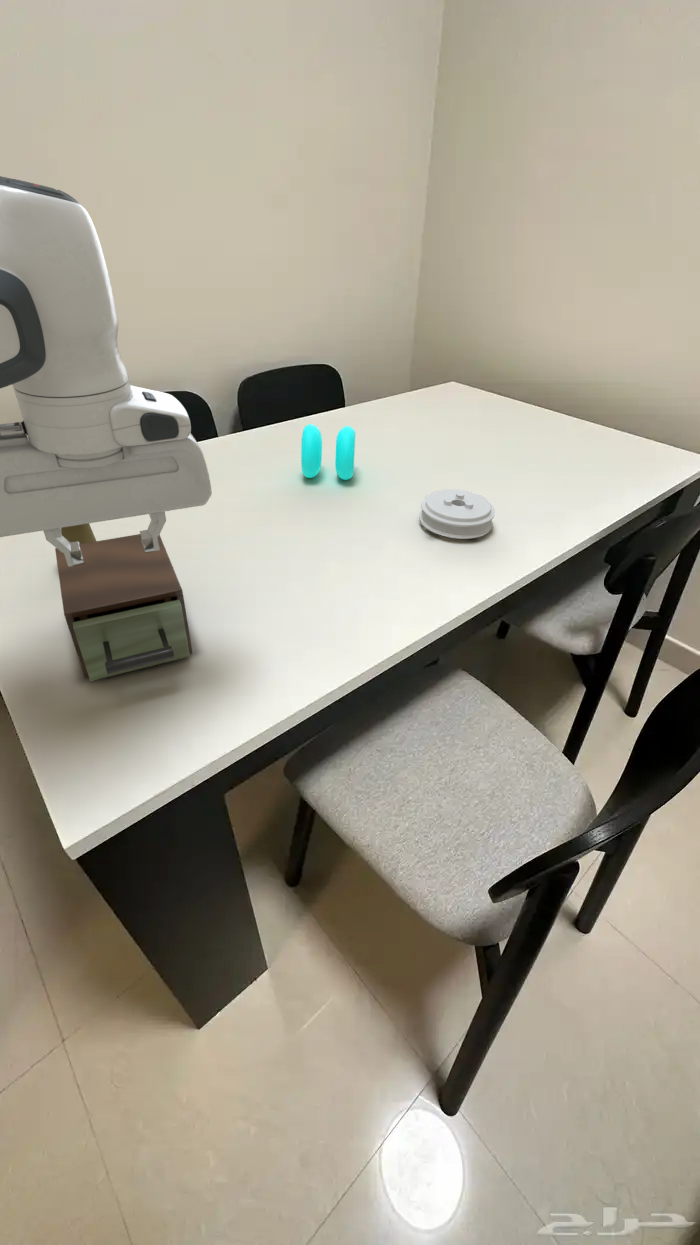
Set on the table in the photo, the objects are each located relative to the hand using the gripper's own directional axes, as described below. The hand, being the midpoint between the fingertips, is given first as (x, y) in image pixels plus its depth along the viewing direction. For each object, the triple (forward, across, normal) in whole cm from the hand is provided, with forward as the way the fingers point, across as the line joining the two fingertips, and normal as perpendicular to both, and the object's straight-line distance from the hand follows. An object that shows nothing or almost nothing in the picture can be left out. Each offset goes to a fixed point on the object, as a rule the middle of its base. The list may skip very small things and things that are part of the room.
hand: (114, 555), depth 58 cm
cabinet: (+17, 0, +10) cm, 20 cm away
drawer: (+16, 0, +5) cm, 17 cm away
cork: (+17, -4, +28) cm, 33 cm away
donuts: (+17, +43, +45) cm, 65 cm away
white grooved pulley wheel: (+17, +56, +19) cm, 62 cm away
